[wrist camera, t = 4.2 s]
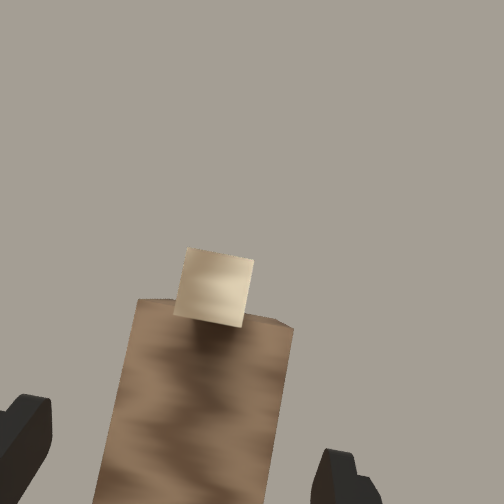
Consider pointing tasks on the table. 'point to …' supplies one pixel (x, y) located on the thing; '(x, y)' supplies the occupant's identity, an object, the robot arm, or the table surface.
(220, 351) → the stand
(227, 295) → the beige block
